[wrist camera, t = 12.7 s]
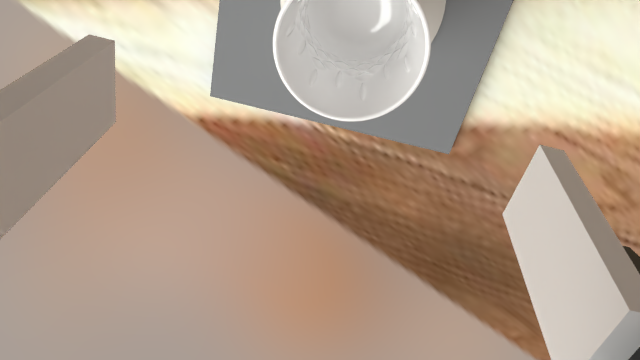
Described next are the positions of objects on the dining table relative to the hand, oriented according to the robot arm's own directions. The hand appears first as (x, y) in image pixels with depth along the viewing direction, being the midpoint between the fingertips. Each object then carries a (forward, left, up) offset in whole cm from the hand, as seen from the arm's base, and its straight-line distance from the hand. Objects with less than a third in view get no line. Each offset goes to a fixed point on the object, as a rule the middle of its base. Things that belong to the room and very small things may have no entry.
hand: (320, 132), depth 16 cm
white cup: (+1, -1, -21) cm, 21 cm away
